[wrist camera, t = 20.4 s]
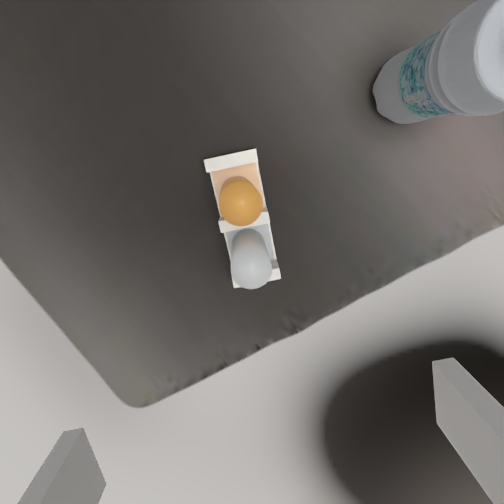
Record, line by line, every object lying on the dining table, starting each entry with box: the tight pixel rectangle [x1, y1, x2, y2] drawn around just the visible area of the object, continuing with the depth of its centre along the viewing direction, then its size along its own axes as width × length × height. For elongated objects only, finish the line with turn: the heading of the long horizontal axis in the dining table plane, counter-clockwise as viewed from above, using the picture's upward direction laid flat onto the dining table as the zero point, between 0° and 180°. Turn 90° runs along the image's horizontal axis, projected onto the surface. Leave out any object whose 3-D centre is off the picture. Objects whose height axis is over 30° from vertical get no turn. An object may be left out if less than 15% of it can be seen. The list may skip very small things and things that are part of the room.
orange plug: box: [219, 176, 263, 226], centre depth 33 cm, size 4×4×8 cm
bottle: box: [373, 0, 504, 124], centre depth 25 cm, size 7×7×20 cm
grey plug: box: [231, 229, 272, 289], centre depth 35 cm, size 4×4×8 cm
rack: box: [204, 149, 281, 288], centre depth 37 cm, size 13×5×3 cm, turn 12°
